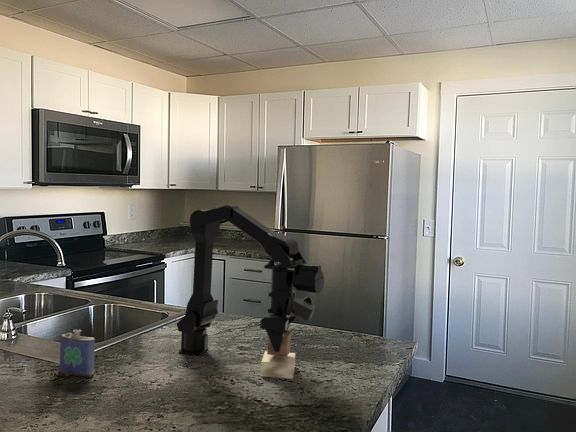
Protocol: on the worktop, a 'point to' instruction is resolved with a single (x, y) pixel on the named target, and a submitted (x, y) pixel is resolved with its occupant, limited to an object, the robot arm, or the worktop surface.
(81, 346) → the flask
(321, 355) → the worktop surface
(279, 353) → the walnut cube
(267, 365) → the beech block
